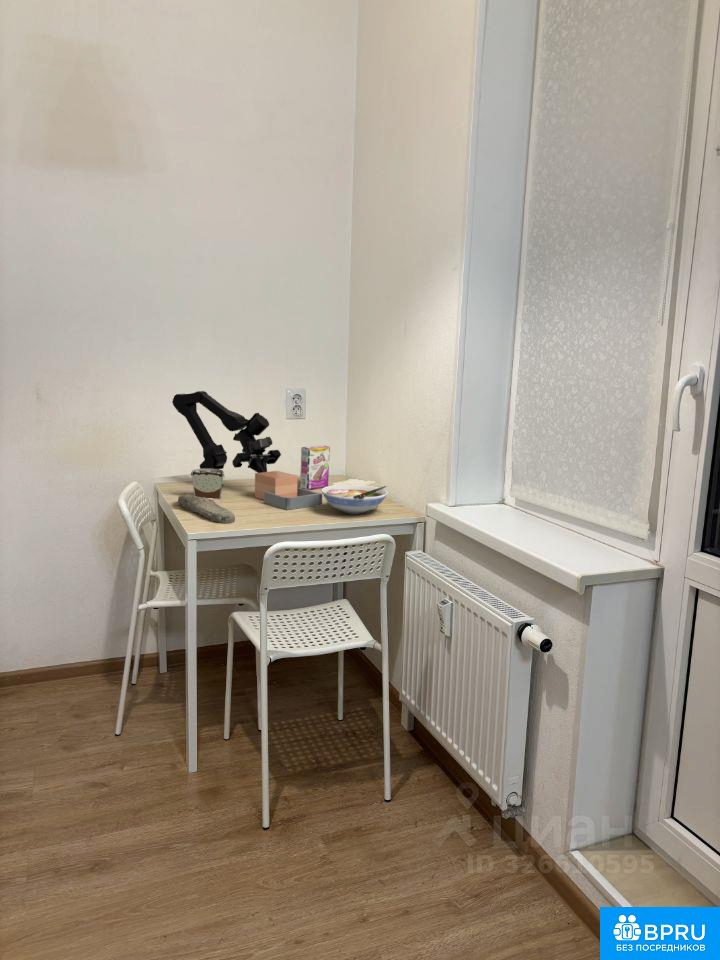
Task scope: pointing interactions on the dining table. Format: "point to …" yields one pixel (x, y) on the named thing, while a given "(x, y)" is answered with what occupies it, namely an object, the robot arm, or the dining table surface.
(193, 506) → the elongated rock
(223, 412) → the robot arm
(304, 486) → the candy bar box
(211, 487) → the food container
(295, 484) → the tile stack
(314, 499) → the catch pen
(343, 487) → the ramen bowl
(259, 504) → the dining table surface
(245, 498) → the dining table surface
